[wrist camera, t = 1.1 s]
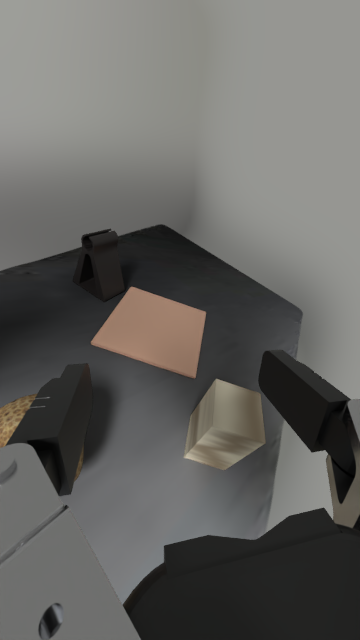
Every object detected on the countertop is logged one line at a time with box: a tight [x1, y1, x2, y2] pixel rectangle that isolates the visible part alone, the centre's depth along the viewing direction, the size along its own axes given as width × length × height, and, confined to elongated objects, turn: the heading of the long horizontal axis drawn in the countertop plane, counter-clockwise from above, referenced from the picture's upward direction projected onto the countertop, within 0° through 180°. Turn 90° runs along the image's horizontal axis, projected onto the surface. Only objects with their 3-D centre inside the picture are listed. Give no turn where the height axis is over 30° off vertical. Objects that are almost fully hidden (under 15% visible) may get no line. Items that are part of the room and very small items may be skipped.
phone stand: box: [73, 229, 125, 302], centre depth 43 cm, size 9×6×12 cm, turn 58°
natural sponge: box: [0, 394, 84, 481], centre depth 20 cm, size 9×9×10 cm
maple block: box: [184, 379, 266, 470], centre depth 26 cm, size 5×5×10 cm
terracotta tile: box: [91, 287, 206, 379], centre depth 42 cm, size 18×18×1 cm
